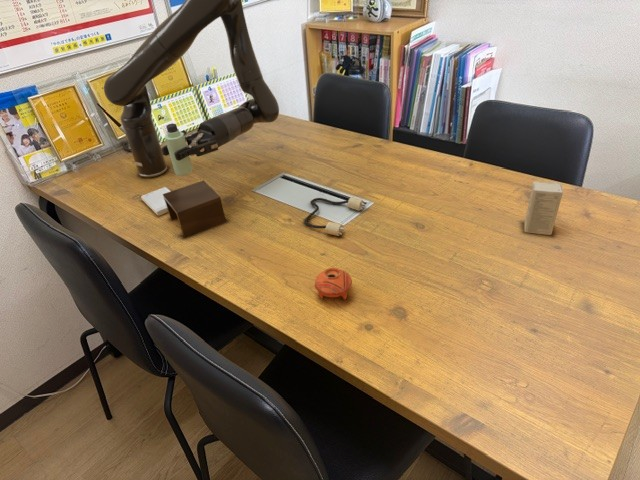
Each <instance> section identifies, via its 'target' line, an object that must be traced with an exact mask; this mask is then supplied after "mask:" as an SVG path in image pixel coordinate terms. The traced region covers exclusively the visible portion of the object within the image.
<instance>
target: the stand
mask: <svg viewBox="0 0 640 480" xmlns="http://www.w3.org/2000/svg"><path fill="white" fill-rule="evenodd" d="M170 191H171V192H168V193H165V194H163V197H164V200H165V203H166V206H167V209H168V212H167V213H168V216H169V219H170V220H171V221H173V220H176V219H177V220H178V223H179V227H180V230H181V233H182V236H183V238H189V237H190V236H194V235H196V234H199V233H200V232H203V231H206V230H208V229H211V228H213V227H216V226H219V225H221V224H224V223H226V222H227V220H226V215H225V211H224V206H223V203H222V198H221V196H220V195H219V194H218V193H217V192H216V190H214V189H213V188H212V187H211V186H210V185H209V184H208V183H207V182H206V181H205V180H200V181H197V182H194V183H192V184H189V185H186V186H183V187H180V188H177V189H174V190H170Z"/></svg>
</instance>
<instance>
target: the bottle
mask: <svg viewBox="0 0 640 480" xmlns="http://www.w3.org/2000/svg"><path fill="white" fill-rule="evenodd" d="M165 126H166V135H164V140H165V141H164V142H165V144H166V145H167V147H168V151H169V157H170V161H171V163H172V164H171V165H172V168H173V171H174V174H175V175H176V176H178V177H183V176H187V175H190V174H191V173H193V172H194V168H193V164H192V161H191V156H188V157H186V158H184V159H182V160H180V161H178V160H176V158H175V155H174V153H175V152H176V151H178V150H180V149H182V148H184V147H187V145H188V144H187V142H186V141H185V138H184V134H183V133H182V132H181V131H180V130H179V128H178V126H177V124H176V123H168V124H167V125H165Z"/></svg>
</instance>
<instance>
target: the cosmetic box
mask: <svg viewBox="0 0 640 480" xmlns="http://www.w3.org/2000/svg"><path fill="white" fill-rule="evenodd" d="M531 187H532V188H531V191H530V194H529V200H528V205H527V209H526V214H525V219H524V222H523V223H524V224H523V225H524V228H523V229H524V233H529V234H538V235H547V236H548V235H549V236H552V235H553V231H554V227H555V224H556V219H557V216H558V212H559V208H560V205H561V202H562V201H561V200H562V197H563V194H564V190H563V185H562V183H560V182H548V181H547V182H546V181H533V182H532V186H531Z"/></svg>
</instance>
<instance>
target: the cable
mask: <svg viewBox="0 0 640 480" xmlns="http://www.w3.org/2000/svg"><path fill="white" fill-rule="evenodd" d="M316 201H321V202H326V203H328V204H331V205H344V204H347V206H348V208H350V209H353V210H356V211H359V212H360V211H363V207H366V204H365V203H364V200H363V199H360V198H358V197H355V196H351V197H349V199H346V200H343V201H334V200H330V199H327V198H323V197H315V198H313V199H311V200H310V205H312V206H313V207H315V209H314V210H313V211H312V212H311V213H309V215H307V216H306V218H305V219H304V224H305V225H306V226H307V227H309V228H313V229H325V233H326V234H328V235H333V236H337V237H339V236H343V232H344V231H345V228H343V226H342V223H337V222H333V221H329V222H327V224H326V225H317V224H312V223H309V220H310V219H311V218H312V217H313V216H314V215H315V214H317V212H318V211H319V210H320V206H319V205H318V204H316V203H315V202H316Z"/></svg>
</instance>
